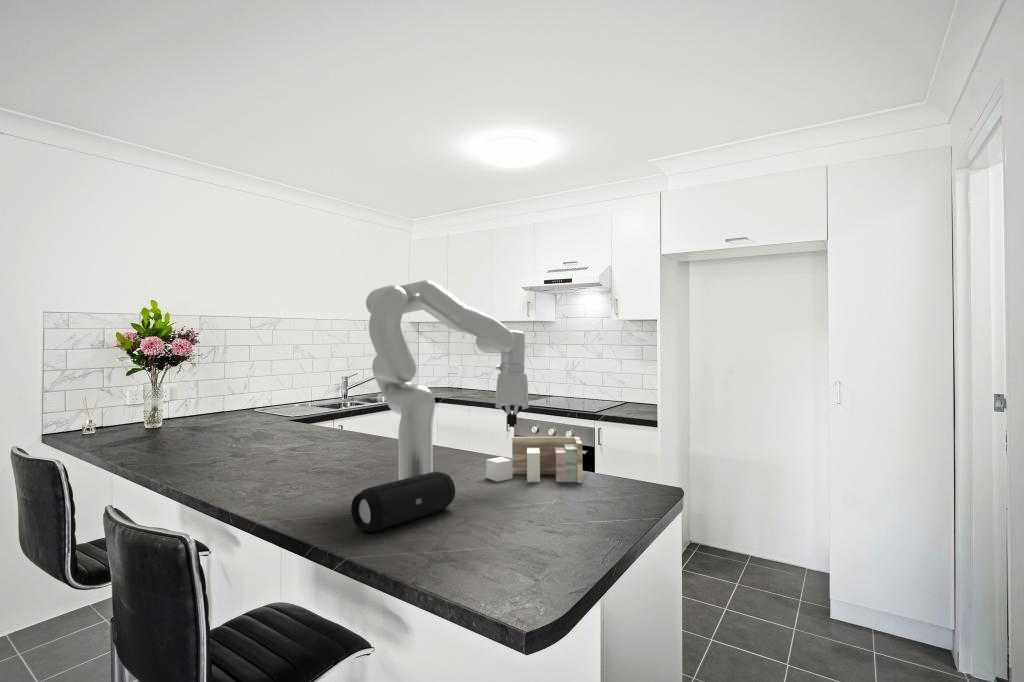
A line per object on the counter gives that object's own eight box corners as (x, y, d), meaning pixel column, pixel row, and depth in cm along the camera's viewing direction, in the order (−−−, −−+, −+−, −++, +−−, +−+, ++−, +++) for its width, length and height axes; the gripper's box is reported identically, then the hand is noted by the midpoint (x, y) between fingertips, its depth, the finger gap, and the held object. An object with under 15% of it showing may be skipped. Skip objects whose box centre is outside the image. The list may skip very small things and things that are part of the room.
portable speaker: (373, 539, 118) (373, 494, 118) (349, 529, 124) (348, 486, 124) (457, 511, 137) (457, 472, 137) (432, 504, 143) (432, 467, 143)
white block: (540, 482, 165) (539, 453, 165) (527, 482, 165) (526, 453, 165) (539, 474, 174) (539, 447, 174) (527, 474, 174) (527, 447, 174)
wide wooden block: (582, 482, 163) (582, 443, 163) (511, 482, 164) (510, 443, 164) (579, 473, 175) (578, 436, 175) (512, 472, 176) (512, 436, 176)
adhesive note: (496, 482, 165) (496, 462, 165) (486, 478, 170) (486, 459, 170) (512, 478, 169) (512, 460, 169) (501, 475, 174) (501, 456, 174)
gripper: (488, 369, 166) (487, 427, 166) (535, 370, 165) (535, 429, 165) (490, 368, 174) (489, 424, 173) (536, 369, 173) (535, 425, 172)
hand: (511, 426), depth 169 cm, fingers closed
